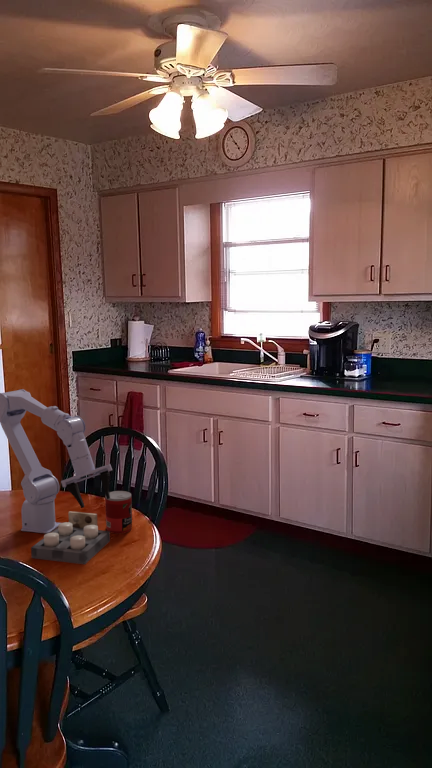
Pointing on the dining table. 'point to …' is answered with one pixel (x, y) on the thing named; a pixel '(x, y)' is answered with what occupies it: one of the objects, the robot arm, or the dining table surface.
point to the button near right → (77, 542)
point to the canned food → (118, 512)
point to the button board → (65, 551)
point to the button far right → (91, 531)
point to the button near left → (51, 539)
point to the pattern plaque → (82, 519)
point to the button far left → (65, 529)
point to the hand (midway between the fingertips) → (95, 502)
